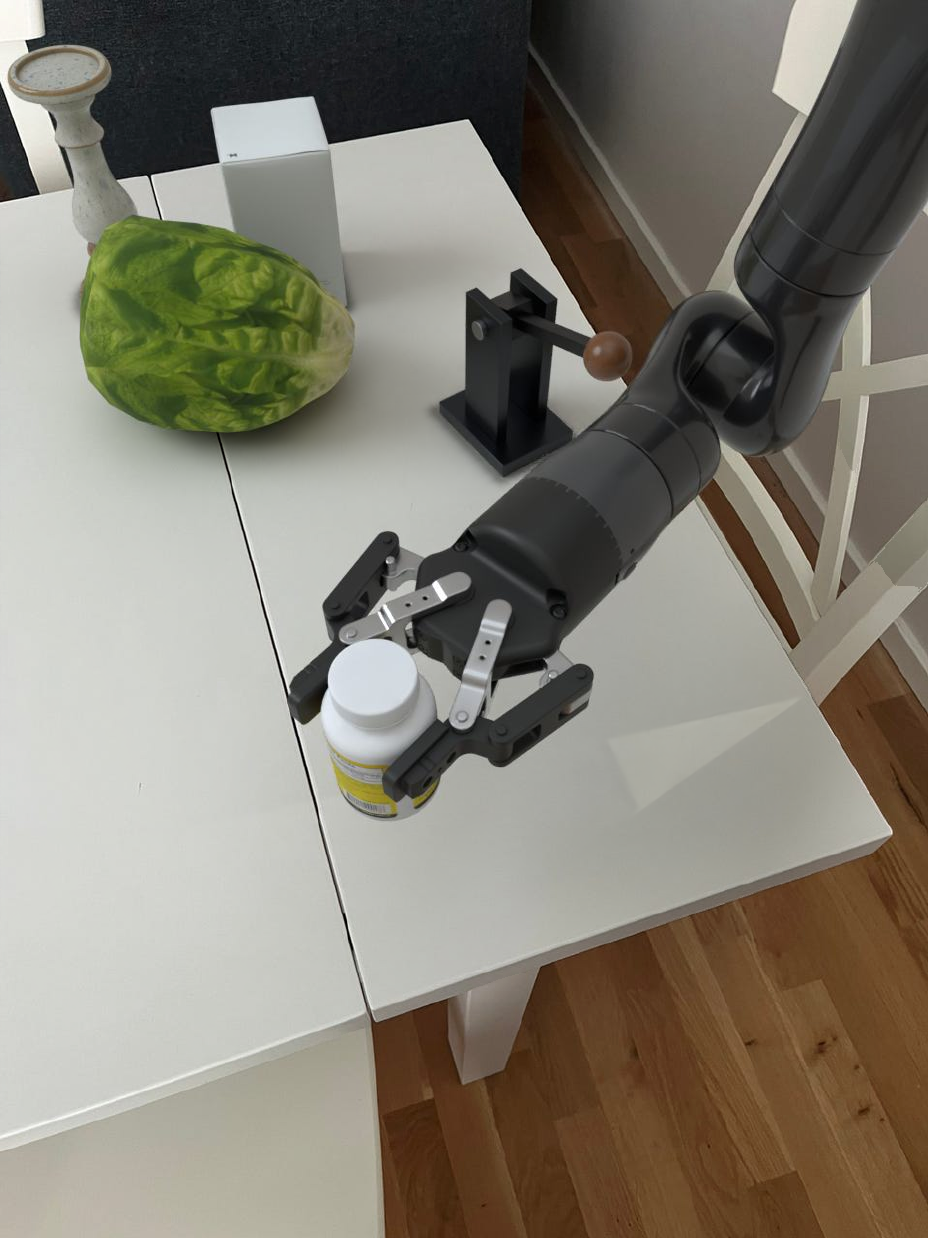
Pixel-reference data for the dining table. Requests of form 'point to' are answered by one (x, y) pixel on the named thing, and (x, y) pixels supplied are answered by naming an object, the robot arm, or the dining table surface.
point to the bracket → (507, 383)
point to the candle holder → (76, 129)
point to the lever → (569, 338)
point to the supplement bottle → (375, 723)
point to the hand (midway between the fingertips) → (341, 750)
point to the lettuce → (207, 327)
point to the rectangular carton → (282, 183)
